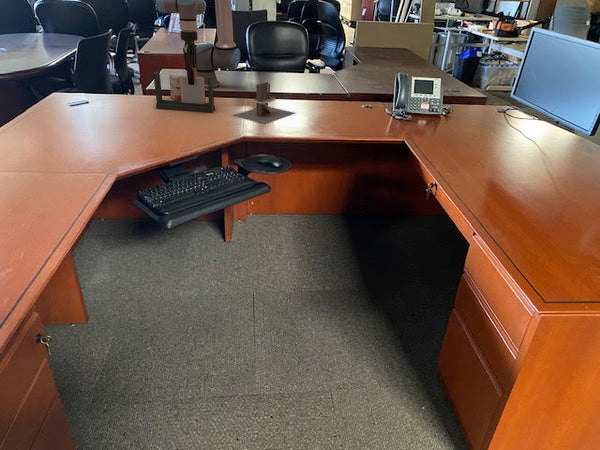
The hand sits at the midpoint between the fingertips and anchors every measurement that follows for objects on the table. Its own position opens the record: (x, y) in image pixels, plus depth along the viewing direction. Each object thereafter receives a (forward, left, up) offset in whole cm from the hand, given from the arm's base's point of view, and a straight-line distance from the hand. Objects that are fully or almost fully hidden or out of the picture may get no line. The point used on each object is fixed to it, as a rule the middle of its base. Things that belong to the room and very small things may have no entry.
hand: (192, 83), depth 212 cm
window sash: (0, 0, -10) cm, 10 cm away
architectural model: (-19, +29, -13) cm, 37 cm away
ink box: (-9, -22, -13) cm, 27 cm away
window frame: (+2, -4, -13) cm, 13 cm away
